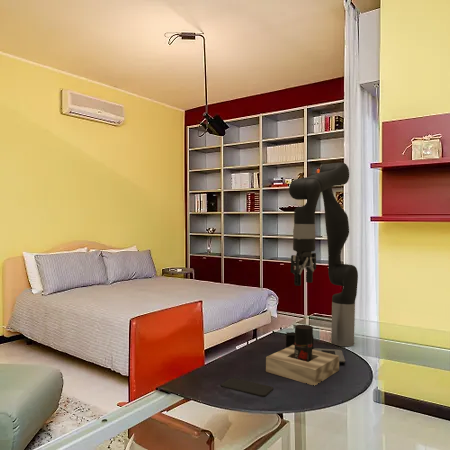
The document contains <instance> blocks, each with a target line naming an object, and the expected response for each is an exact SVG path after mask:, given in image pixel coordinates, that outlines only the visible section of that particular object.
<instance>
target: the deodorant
mask: <svg viewBox="0 0 450 450" xmlns="http://www.w3.org/2000/svg"><path fill="white" fill-rule="evenodd" d="M313 330H314V327H313V326H312V325H310V324H297V325H296V324H295V326H294V333H295V350H294V359H298V360H302V361H306V362H309V361H311V360H312V342H313V343H314V340H313V337H314V331H313Z"/></svg>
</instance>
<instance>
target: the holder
mask: <svg viewBox="0 0 450 450" xmlns="http://www.w3.org/2000/svg"><path fill="white" fill-rule="evenodd" d="M294 350H295V345H292V346H290V347H287V348H286V347H285V348H284V349H280V350H278V351H277V352H274V353H272V354H270V355H267V356H266V357H265V372H266V373H269V374H272V375H275V376H280V377H283V378H286V379H290V380H294V381H296V382H300V383H303V384H306V383H307V385H310V386H313V385H314V386H313V387H315V385H316V386H317V385H319V384H321V383H322V382H323V381H325V380H327V379H328V378H329V377H331V376H332V375H335V374H336V373H337V372H339V371H340V363H339V356H338V355H334V354H329V353H325V352H321V351H317V350H314V349H313V350H312V360H311V361H309V362H306V361H302V360H298V359H294ZM321 381H322V382H321ZM318 383H319V384H318Z"/></svg>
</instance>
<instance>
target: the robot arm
mask: <svg viewBox="0 0 450 450" xmlns="http://www.w3.org/2000/svg"><path fill="white" fill-rule="evenodd" d="M349 179H350V168H349V166H348V165H347V164H346V163H345V162H332V163H323V164H322V165H321V166H320V168H319V172H318V173H314V174H312V175H309V176H306V177H301V178H296V179H293V181H291V182H290V185H289V188H288V193H289V195H290V197H291V198H292V199H294V200H297V201H299V200H301V201H305V200H307V201H306V202H305V204H304V205H301V206H298V207H295V208H294V211H293V223H294V224H293V229H292V230H293V231H292V233H293V234H292V236H293V237H292V240H293V241H292V250H293V251H294V252H296V254H294V255H293V254H291V256H290V273H291V274H293V276H294V277H293V278H294V286H297V287H301V286H302V272H303V270H305V271H306V272H305V282H306V283H309V284H311V283H313V280H314V277H313V275H314V272H315V271H316V269H317V254H316V252H315V250H316V224H315V223H316V210H317V206H318V202H319V197H320V195H321V196H322V200H323V206H324V207H323V208H324V222H325V232H326V238H327V239H326V240H327V253H328V258H327V259H328V261H327V265H328V266H327V267H328V268H327V269H328V270H327V271H328V273H327V274H328V278H329V282H330V284H333V285H335V286H340V287H342V291H341V292H337V293H334V294H333V295H332V298H331V334H330V337H331V339H330V342H331V344H332V345H335V346H339V347H352V346H354V345H355V325H356V324H355V320H356V315H355V314H356V299H357V294H358V283H359V282H358V281H359V280H358V279H359V272H358V269H357V267H356V266H355V265H354V264H349V263H348V264H347V263H342V257H341V256H342V255H341V254H342V250H343V247H344V246H345V244H346V242H347V240H348V238H349V235H350V223H349V216H348V214H347V212H346V211H345V210H344V209H343V207H342V205H340V203H339V202H338V201H337V199H336V197H335V195H334V192H333V187H338V186H345V185H346V184H347V183H348V182H349Z"/></svg>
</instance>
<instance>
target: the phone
mask: <svg viewBox="0 0 450 450" xmlns="http://www.w3.org/2000/svg"><path fill="white" fill-rule="evenodd" d="M220 387H221V388H223V389H229V390H233V391H237V392H240V393H244V394H249V395H252V396H256V397H261V398H266V397H267V396H268V395H269V394H270V393H272V392H273V391H274V387H273V386H271V385H266V384H261V383H258V382H254V381H248V380H243V379H239V378H234V377H230V378H228V379H226V380H225V381H224V382H222V383H221V384H220Z"/></svg>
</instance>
